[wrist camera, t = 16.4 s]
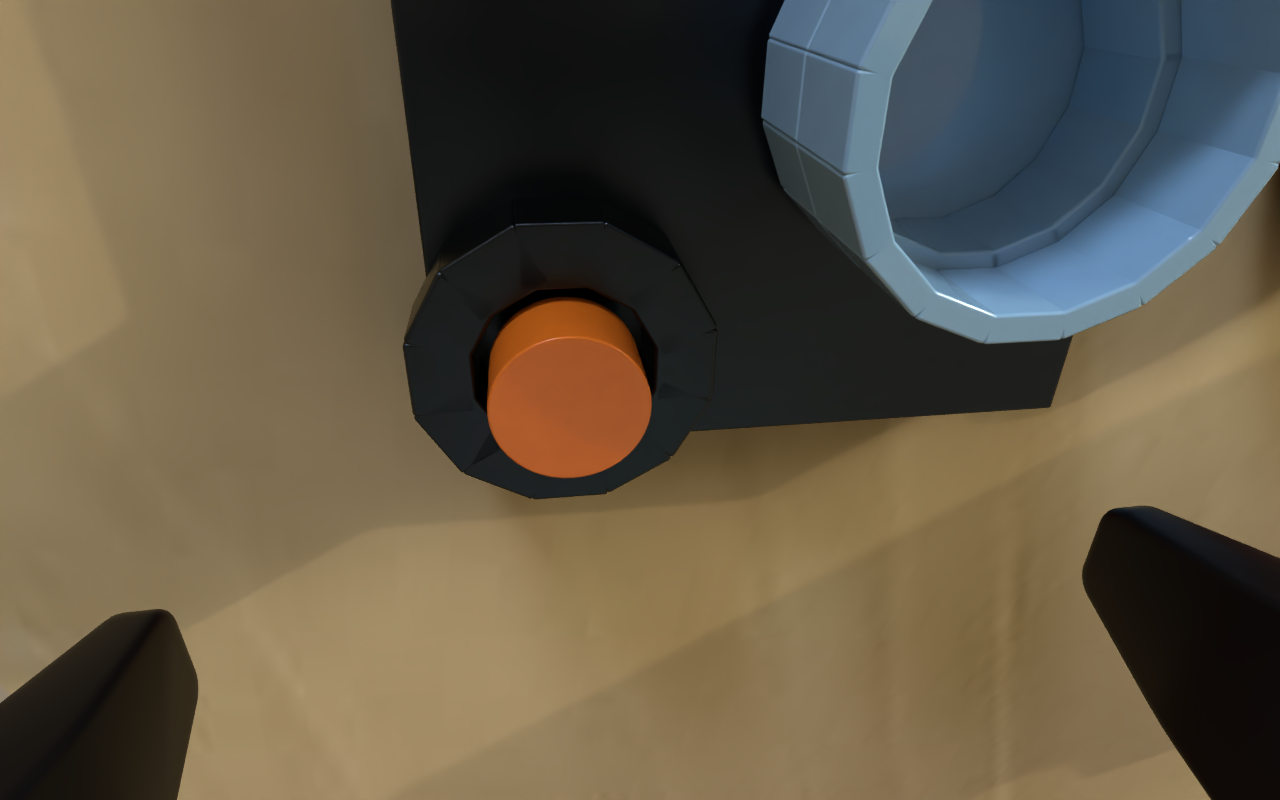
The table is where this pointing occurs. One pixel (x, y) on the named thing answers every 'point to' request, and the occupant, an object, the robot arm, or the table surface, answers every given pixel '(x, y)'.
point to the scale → (647, 233)
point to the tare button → (567, 388)
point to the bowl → (1023, 147)
